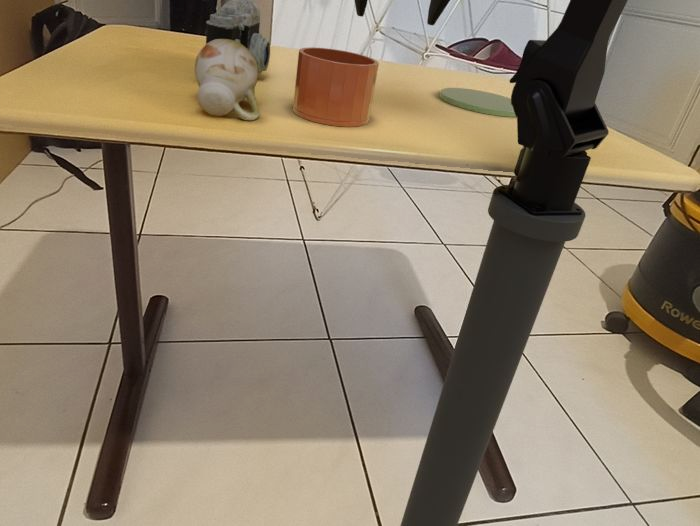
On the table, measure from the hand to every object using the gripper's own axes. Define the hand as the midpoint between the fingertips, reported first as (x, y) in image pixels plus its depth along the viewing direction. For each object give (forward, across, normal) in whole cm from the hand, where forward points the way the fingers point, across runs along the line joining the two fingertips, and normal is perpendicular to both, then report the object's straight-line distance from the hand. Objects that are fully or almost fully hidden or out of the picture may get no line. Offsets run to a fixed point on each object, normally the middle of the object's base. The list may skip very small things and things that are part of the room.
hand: (396, 20), depth 65 cm
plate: (+12, -24, -13) cm, 30 cm away
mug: (+12, +19, -2) cm, 22 cm away
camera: (+12, +14, -18) cm, 26 cm away
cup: (+12, +6, -1) cm, 13 cm away
